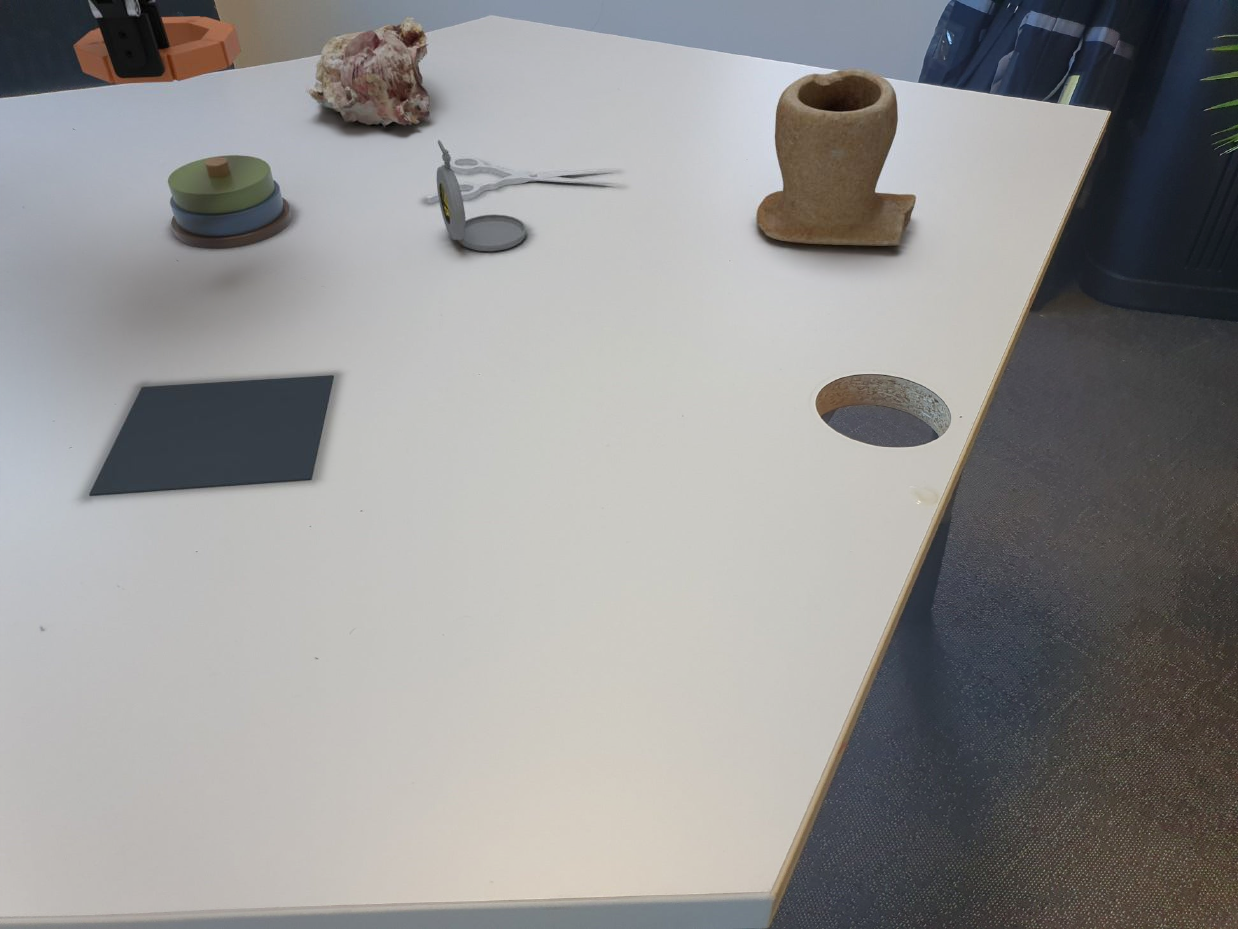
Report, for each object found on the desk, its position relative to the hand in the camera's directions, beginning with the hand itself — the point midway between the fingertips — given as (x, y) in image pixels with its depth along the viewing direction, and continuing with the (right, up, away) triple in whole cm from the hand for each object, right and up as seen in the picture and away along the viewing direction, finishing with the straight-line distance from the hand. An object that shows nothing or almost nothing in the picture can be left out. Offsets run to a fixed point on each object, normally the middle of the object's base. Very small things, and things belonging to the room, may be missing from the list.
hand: (146, 68), depth 64 cm
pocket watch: (+21, -7, +22) cm, 31 cm away
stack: (-4, -5, +24) cm, 25 cm away
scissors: (+24, +2, +32) cm, 40 cm away
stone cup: (+55, -7, +23) cm, 60 cm away
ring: (-1, +2, +4) cm, 4 cm away
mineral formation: (+3, +16, +50) cm, 52 cm away
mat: (+6, -26, -1) cm, 27 cm away
